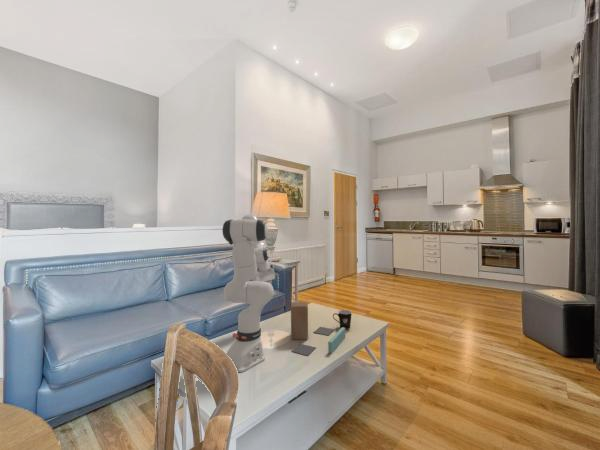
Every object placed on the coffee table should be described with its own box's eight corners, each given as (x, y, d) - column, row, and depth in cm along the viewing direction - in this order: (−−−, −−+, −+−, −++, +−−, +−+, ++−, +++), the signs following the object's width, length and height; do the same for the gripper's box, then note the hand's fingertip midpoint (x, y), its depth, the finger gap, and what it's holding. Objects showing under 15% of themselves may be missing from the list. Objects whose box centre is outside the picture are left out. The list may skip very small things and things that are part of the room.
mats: (308, 356, 143) (308, 355, 143) (291, 351, 147) (291, 351, 147) (334, 330, 176) (334, 329, 176) (320, 327, 181) (320, 326, 181)
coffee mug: (353, 326, 182) (353, 311, 182) (348, 330, 175) (348, 315, 175) (338, 322, 189) (337, 308, 189) (332, 326, 182) (332, 311, 182)
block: (308, 340, 161) (307, 306, 161) (291, 340, 162) (290, 306, 161) (307, 333, 171) (307, 301, 171) (291, 333, 172) (291, 301, 171)
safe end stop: (331, 353, 145) (331, 342, 145) (328, 352, 146) (328, 341, 146) (345, 337, 165) (345, 327, 164) (342, 337, 165) (342, 327, 165)
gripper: (255, 269, 169) (259, 292, 168) (275, 265, 187) (278, 285, 185) (247, 270, 172) (251, 292, 171) (267, 266, 190) (270, 286, 188)
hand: (265, 288), depth 178 cm, fingers open, 8 cm apart
